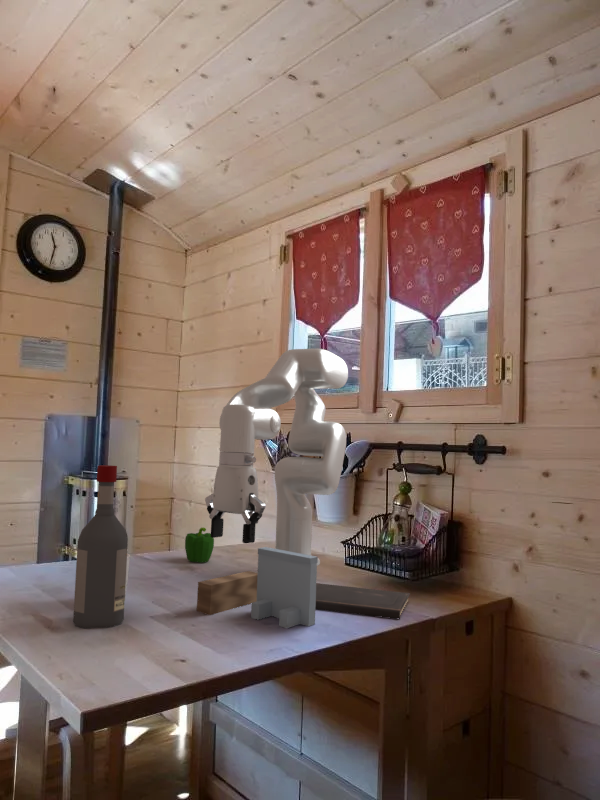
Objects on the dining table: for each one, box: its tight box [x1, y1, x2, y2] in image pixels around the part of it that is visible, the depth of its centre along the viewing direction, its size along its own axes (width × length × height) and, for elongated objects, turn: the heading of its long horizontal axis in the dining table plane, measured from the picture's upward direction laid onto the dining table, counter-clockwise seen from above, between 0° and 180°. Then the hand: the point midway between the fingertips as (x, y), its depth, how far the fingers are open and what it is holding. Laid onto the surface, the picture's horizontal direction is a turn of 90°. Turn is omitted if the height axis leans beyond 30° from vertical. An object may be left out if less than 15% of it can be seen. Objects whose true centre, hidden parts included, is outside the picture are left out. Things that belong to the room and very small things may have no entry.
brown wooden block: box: [196, 570, 258, 616], centre depth 133 cm, size 16×4×6 cm, turn 142°
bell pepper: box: [184, 527, 215, 564], centre depth 177 cm, size 8×8×10 cm
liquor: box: [72, 464, 129, 629], centre depth 119 cm, size 9×9×30 cm
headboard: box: [250, 546, 319, 629], centre depth 124 cm, size 6×14×13 cm, turn 52°
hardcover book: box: [315, 582, 411, 620], centre depth 138 cm, size 16×23×2 cm
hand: (232, 539), depth 133 cm, fingers open, 9 cm apart
